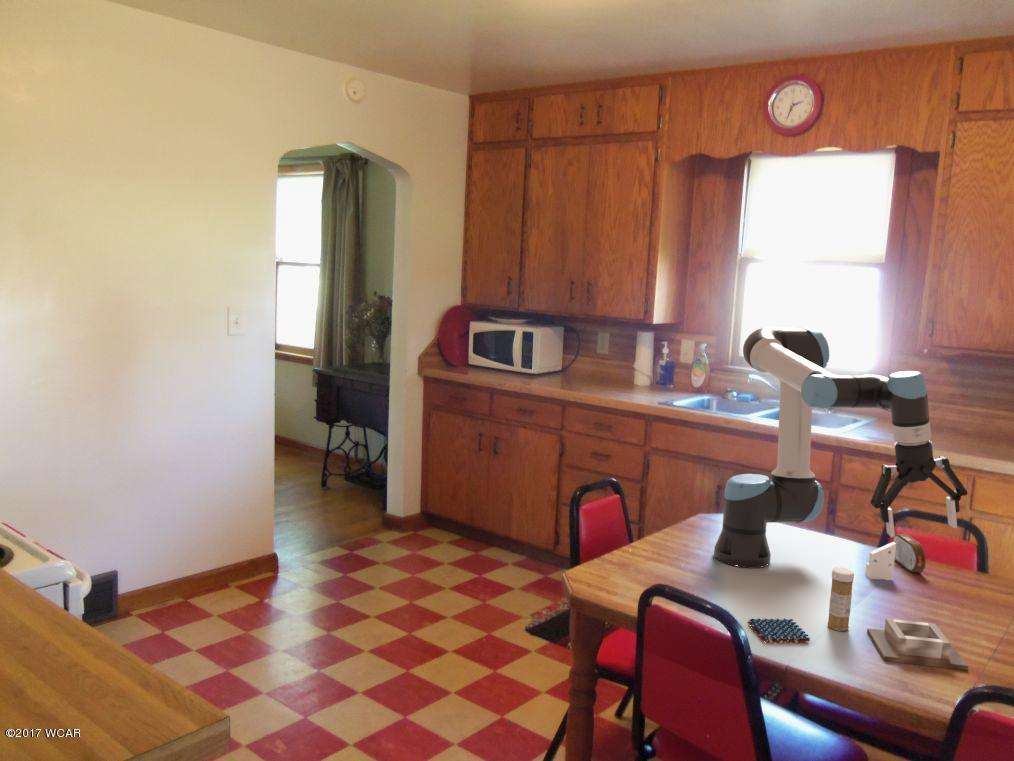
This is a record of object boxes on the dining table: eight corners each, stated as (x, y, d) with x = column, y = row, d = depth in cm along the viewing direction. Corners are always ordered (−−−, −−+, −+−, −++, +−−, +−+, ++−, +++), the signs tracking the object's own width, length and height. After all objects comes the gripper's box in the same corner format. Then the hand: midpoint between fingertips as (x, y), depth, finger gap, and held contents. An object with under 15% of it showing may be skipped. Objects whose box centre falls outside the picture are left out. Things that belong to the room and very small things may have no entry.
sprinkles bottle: (837, 622, 189) (842, 565, 187) (853, 630, 185) (859, 572, 183) (822, 625, 187) (827, 568, 185) (838, 633, 183) (844, 575, 181)
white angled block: (910, 572, 217) (896, 543, 216) (874, 588, 218) (860, 559, 218) (905, 567, 221) (891, 539, 220) (869, 583, 222) (855, 555, 221)
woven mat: (745, 625, 186) (746, 616, 186) (791, 625, 187) (791, 617, 187) (762, 646, 176) (763, 637, 176) (811, 646, 177) (811, 637, 176)
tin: (925, 577, 221) (928, 546, 220) (913, 576, 221) (916, 546, 220) (899, 558, 236) (902, 529, 235) (888, 557, 236) (891, 529, 235)
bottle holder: (883, 660, 170) (886, 640, 169) (867, 632, 184) (869, 613, 183) (967, 670, 167) (970, 649, 167) (944, 641, 181) (946, 621, 180)
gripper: (861, 454, 181) (871, 544, 185) (979, 436, 179) (987, 528, 182) (849, 445, 188) (859, 532, 192) (962, 428, 186) (970, 516, 189)
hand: (921, 530), depth 187 cm, fingers open, 13 cm apart
